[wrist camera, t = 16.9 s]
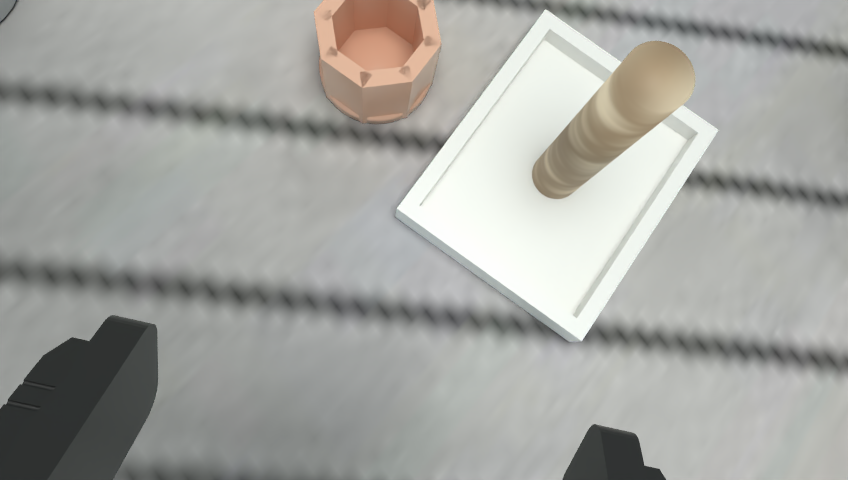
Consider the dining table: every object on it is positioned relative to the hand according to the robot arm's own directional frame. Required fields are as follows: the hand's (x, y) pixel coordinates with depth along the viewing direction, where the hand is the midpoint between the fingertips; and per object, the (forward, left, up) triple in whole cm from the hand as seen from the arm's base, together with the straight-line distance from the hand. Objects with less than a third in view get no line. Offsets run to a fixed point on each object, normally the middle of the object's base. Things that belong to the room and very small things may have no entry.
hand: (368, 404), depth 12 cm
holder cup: (-11, +17, -31) cm, 37 cm away
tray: (+3, +18, -31) cm, 35 cm away
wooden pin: (+3, +18, -30) cm, 35 cm away
